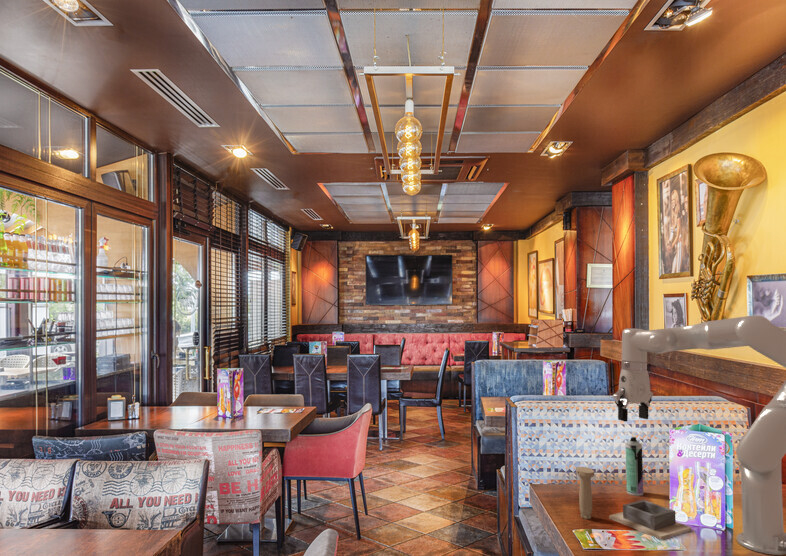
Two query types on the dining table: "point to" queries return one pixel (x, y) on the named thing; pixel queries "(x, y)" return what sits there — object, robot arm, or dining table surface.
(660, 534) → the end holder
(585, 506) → the handle
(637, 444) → the spray can
